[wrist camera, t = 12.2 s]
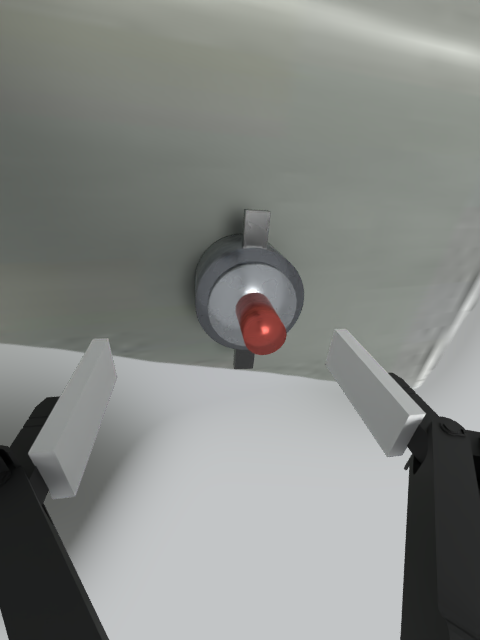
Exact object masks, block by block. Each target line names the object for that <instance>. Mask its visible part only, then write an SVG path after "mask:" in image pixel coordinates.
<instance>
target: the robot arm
mask: <svg viewBox="0 0 480 640" xmlns="http://www.w3.org/2000/svg"><path fill="white" fill-rule="evenodd" d="M325 365H326V366H327V368H328V369H329V371H330V372H331V374H332V375H333V377H334V378H335V380H336V381H337V383H338V384H339V386H340V387H341V389H342V390H343V392H344V393H345V395H346V396H347V398H348V399H349V400H350V402H351V403H352V405H353V406H354V408H355V409H356V411H357V412H358V414H359V415H360V417H361V418H362V420H363V421H364V423H365V424H366V426H367V427H368V429H369V430H370V432H371V433H372V435H373V436H374V438H375V439H376V441H377V442H378V444H379V445H380V447H381V448H382V450H383V451H384V453H385V454H386V456H387V457H393V456H401V455H403V453H404V451H405V450H406V448H407V447H408V448H409V449H410V451H411V452H412V455H411V457H410V458H409V460H408V462H407V463H406V465H405V467H404V469H405V470H407V469H408V467H409V466H410V467H409V468H410V469H409V487H408V506H407V525H406V544H405V564H404V583H403V602H402V621H401V622H402V623H401V637H400V640H480V432H475V431H470V430H465V429H464V428H463V427H462V426H461V425H460V424H458V423H457V422H455V421H453V420H451V419H449V418H446V417H439V416H438V415H437V414H436V413H435V412H434V411H433V410H432V409H431V408H430V407H429V406H428V405H427V404H426V403H425V402H424V401H423V400H422V399H421V398H420V397H419V396H418V395H417V394H416V393H415V391H414V390H413V389H412V388H410V386H409V385H408V384H407V383H406V382H405V381H404V380H403V379H402V378H400V377H398V376H397V375H395V374H394V373H387V372H386V371H385V370H384V369H383V367H382V366H381V365H380V364H379V363H378V362H377V361H376V360H375V359H374V358H373V357H372V356H371V355H370V354H369V353H368V351H367V350H366V349H365V348H364V347H363V346H362V345H361V344H360V343H359V342H358V341H357V340H356V339H355V338H354V337H353V336H352V334H351V333H350V332H349V331H348V330H347V329H335V330H334V334H333V337H332V341H331V345H330V349H329V352H328V356H327V360H326V364H325ZM116 379H117V375H116V370H115V366H114V361H113V357H112V353H111V348H110V344H109V340H108V338H103V339H93V340H92V341H91V343H90V345H89V347H88V348H87V350H86V352H85V354H84V356H83V357H82V359H81V361H80V363H79V364H78V366H77V368H76V370H75V371H74V373H73V375H72V377H71V378H70V380H69V382H68V384H67V385H66V387H65V389H64V391H63V392H62V394H61V396H60V397H48V398H46V399H45V400H44V401H42V402H41V403H40V404H39V405H38V406H36V407H35V409H34V410H33V412H32V414H31V415H30V417H29V420H27V421H26V423H25V424H24V426H23V429H21V431H20V432H19V434H18V435H17V437H16V439H15V440H14V442H13V443H12V445H11V446H10V448H9V447H8V446H2V445H0V609H1V613H2V617H3V620H4V624H5V627H6V631H7V635H8V638H9V640H109V639H108V637H107V635H106V632H105V630H104V628H103V626H102V624H101V622H100V620H99V618H98V616H97V613H96V611H95V609H94V607H93V605H92V603H91V601H90V599H89V597H88V595H87V593H86V591H85V589H84V586H83V584H82V582H81V580H80V578H79V576H78V574H77V572H76V570H75V568H74V566H73V563H72V561H71V559H70V557H69V555H68V553H67V551H66V549H65V547H64V545H63V542H62V540H61V538H60V536H59V535H58V532H57V530H56V528H55V526H54V524H53V522H52V520H51V517H50V516H49V513H48V511H47V509H46V507H45V505H44V504H43V502H44V500H45V497H46V495H47V493H48V491H49V493H50V495H51V497H52V498H53V499H59V498H67V497H75V496H76V493H77V490H78V487H79V484H80V481H81V479H82V475H83V473H84V470H85V467H86V464H87V462H88V459H89V456H90V453H91V450H92V447H93V444H94V442H95V439H96V436H97V433H98V430H99V427H100V425H101V421H102V419H103V416H104V413H105V410H106V408H107V405H108V402H109V399H110V396H111V393H112V391H113V388H114V385H115V382H116Z"/></svg>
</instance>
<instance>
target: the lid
mask: <svg viewBox="0 0 480 640" xmlns="http://www.w3.org/2000/svg"><path fill="white" fill-rule="evenodd" d="M296 302H297V300H296V293H295V290H294V288H293V285H292V284H291V282H290V281H289V279H288V278H287V277H286V276H285V275H284V274H283V273H282V272H281V271H280V270H279V269H277V268H276V267H274V266H272V265H270V264H267V263H264V262H257V261H251V262H244V263H240V264H237V265H235V266H233V267H231V268H229V269H227V270H226V271H225V272H223V273H222V274H221V275H220V276H219V277H218V278H217V280H216V281H215V282H214V284H213V286H212V288H211V290H210V293H209V296H208V315H209V319H210V323H211V325H212V327H213V328H214V330H215V331H216V333H217V334H218V335H219V336H220V337H222V338H223V339H224V340H226V341H228V342H230V343H232V344H235V345H240V346H246V347H247V348H248V350H250V351H251V352H252V353H255V354H258V355H266V354H270V353H273V352H275V351H277V350H278V349H279V348H280V347H281V346H282V345H283V344H284V342H285V339H286V328H287V327H288V326H289V324H290V323H291V321H292V319H293V317H294V314H295V311H296Z"/></svg>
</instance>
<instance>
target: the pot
mask: <svg viewBox="0 0 480 640" xmlns="http://www.w3.org/2000/svg"><path fill="white" fill-rule="evenodd" d="M270 214H271V212H270V211H266V210H249V209H244V220H243V234H235V235H230V236H227V237H224V238H222V239H220V240H218V241H216V242H215V243H213V244H212V245H211V246H210V247H209V248H208V249H207V250H206V251H205V252H204V254H203V255H202V257H201V259H200V260H199V263H198V265H197V269H196V274H195V304H196V313H197V317H198V320H199V322H200V324H201V326H202V328H203V329H204V331H205V332H206V333H207V334H208V335H209V336H210V337H211V338H212V339H213V340H215V341H216V342H218V343H220V344H222V345H224V346H226V347H229V348H233V349H234V363H233V365H234V369H250V368H253V363H254V354H255V353H252V352H251V351H250V350H248V348H247V347H246V346H240V345H235V344H232V343H230V342H228V341H226V340H224V339H223V338H222V337H220V336H219V335H218V334H217V333H216V331H215V330H214V328H213V327H212V325H211V323H210V319H209V315H208V296H209V293H210V290H211V288H212V286H213V284H214V282H215V281H216V280H217V278H218V277H219V276H220V275H221V274H222V273H223V272H225V271H226V270H227V269H229V268H231V267H233V266H235V265H237V264H240V263H244V262H251V261H257V262H264V263H267V264H270V265H272V266H274V267H276V268H277V269H279V270H280V271H281V272H282V273H283V274H284V275H285V276H286V277H287V278H288V279H289V281H290V282H291V284H292V285H293V288H294V290H295V293H296V300H297V302H296V311H295V314H294V317H293V319H292V321H291V323H290V324H289V326H288V327H287V328H286V333H287V332H288V331H289V330H290V329H291V328H292V327H293V325H294V324H295V323H296V321H297V319H298V317H299V315H300V313H301V310H302V307H303V301H304V289H303V284H302V280H301V278H300V276H299V274H298V272H297V270H296V269H295V267H294V266H293V265H292V264H291V263H290V262H289V261H288V260H287V259H286V258H285V257H283V256H282V255H281V254H280V253H279V252H278V251H277V250H276V249H275V248H274V247H273V246H272V245H270V244H269V243H268V242H267V240H268V231H269V223H270Z"/></svg>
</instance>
